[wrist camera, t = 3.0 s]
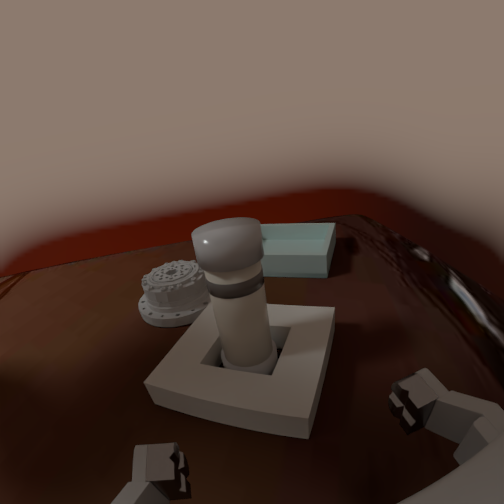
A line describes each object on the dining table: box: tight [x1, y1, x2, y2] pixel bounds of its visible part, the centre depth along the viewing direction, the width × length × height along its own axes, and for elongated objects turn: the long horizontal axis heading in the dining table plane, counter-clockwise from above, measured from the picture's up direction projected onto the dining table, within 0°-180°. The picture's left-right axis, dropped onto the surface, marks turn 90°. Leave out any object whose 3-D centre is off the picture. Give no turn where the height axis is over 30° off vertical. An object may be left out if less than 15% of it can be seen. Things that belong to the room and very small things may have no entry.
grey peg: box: [192, 218, 278, 375], centre depth 21 cm, size 4×4×12 cm
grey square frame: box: [144, 302, 335, 439], centre depth 23 cm, size 12×12×2 cm
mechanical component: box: [139, 260, 211, 327], centre depth 34 cm, size 10×4×10 cm
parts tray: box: [260, 223, 336, 278], centre depth 43 cm, size 14×12×3 cm
